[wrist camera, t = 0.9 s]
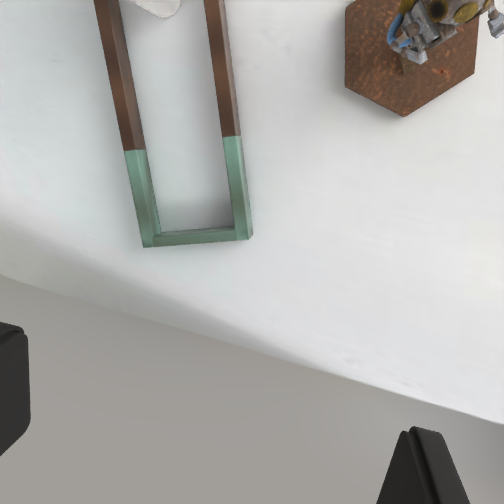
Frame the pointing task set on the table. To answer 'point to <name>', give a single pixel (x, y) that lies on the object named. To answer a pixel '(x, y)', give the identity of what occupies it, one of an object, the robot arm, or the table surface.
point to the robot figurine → (412, 48)
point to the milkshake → (159, 6)
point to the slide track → (134, 137)
